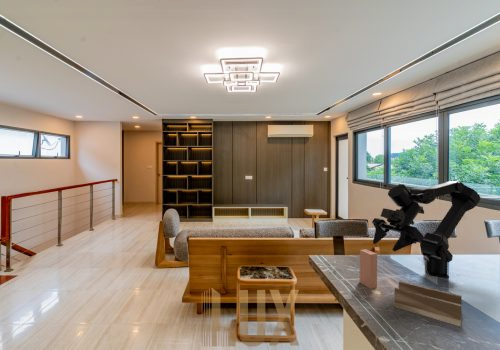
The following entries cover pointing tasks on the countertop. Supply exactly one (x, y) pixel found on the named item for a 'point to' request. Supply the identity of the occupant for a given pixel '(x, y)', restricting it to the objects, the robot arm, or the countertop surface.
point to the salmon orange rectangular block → (368, 268)
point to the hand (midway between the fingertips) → (383, 246)
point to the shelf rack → (429, 302)
